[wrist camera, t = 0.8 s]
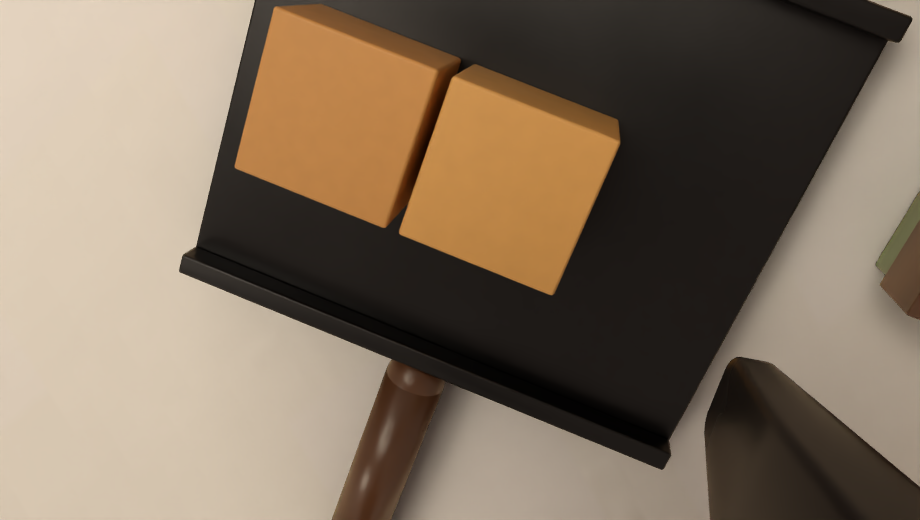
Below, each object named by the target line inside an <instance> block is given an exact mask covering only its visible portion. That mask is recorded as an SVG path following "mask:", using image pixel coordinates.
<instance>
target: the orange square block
mask: <svg viewBox="0 0 920 520" xmlns="http://www.w3.org/2000/svg"><path fill="white" fill-rule="evenodd" d="M460 63H461V59H460V58H458V57H456V56H453V55H451V54H448V53H446V52H443V51H440V50H438V49H435V48H433V47H430V46H428V45H425V44H423V43H420V42H417V41H415V40H412V39H410V38H407V37H405V36H402V35H399V34H397V33H394V32H392V31H389V30H387V29H384V28H382V27H379V26H376V25H374V24H371V23H369V22H366V21H364V20H361V19H358V18H356V17H353V16H351V15H348V14H346V13H343V12H341V11H338V10H335V9H333V8H330V7H328V6H325V5H323V4H310V5H293V6H276V7H275V8H274V10H273V14H272V18H271V22H270V26H269V30H268V34H267V38H266V42H265V46H264V50H263V54H262V58H261V62H260V66H259V70H258V74H257V78H256V82H255V86H254V90H253V94H252V98H251V102H250V106H249V110H248V114H247V118H246V122H245V126H244V130H243V134H242V138H241V142H240V146H239V150H238V154H237V158H236V162H235V168H236V169H238V170H240V171H243V172H245V173H248V174H250V175H253V176H255V177H258V178H260V179H263V180H265V181H268V182H270V183H273V184H275V185H278V186H280V187H283V188H285V189H288V190H290V191H293V192H295V193H298V194H300V195H303V196H305V197H308V198H310V199H313V200H315V201H317V202H320V203H322V204H325V205H327V206H330V207H332V208H335V209H337V210H340V211H342V212H345V213H347V214H350V215H352V216H355V217H357V218H360V219H362V220H365V221H367V222H370V223H372V224H375V225H377V226H380V227H382V228H386V227H387V226H388V225H389V224H390V222H391V221H392V220H393V219H394V218H395V217H396V216H397V215H398V214H399V213H400V212H401V210H402V209H403V208H404V207H405V206H406V205H407V204H408V203H409V201H410V198H411V195H412V192H413V189H414V186H415V183H416V180H417V177H418V174H419V171H420V169H421V166H422V163H423V160H424V157H425V154H426V151H427V148H428V145H429V142H430V140H431V137H432V134H433V131H434V128H435V125H436V122H437V119H438V116H439V113H440V111H441V108H442V105H443V102H444V99H445V96H446V93H447V90H448V87H449V84H450V82H451V79H452V77H453V76H455V75H456V74H457V72H458V69H459V66H460Z"/></svg>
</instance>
